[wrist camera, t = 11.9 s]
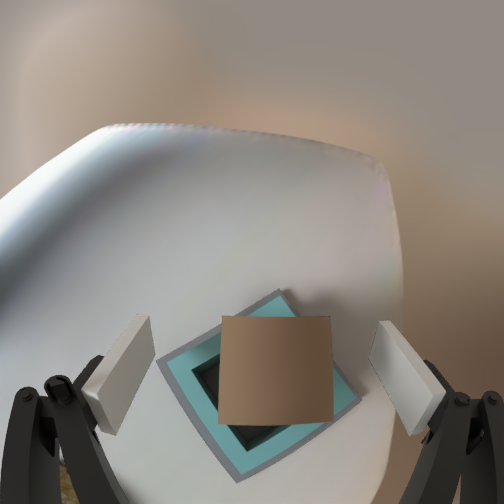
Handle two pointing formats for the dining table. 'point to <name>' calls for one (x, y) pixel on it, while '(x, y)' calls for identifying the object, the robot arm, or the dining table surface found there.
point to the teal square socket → (207, 394)
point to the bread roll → (67, 487)
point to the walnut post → (275, 371)
